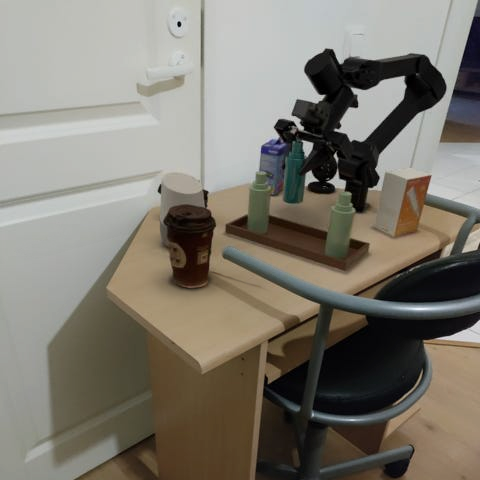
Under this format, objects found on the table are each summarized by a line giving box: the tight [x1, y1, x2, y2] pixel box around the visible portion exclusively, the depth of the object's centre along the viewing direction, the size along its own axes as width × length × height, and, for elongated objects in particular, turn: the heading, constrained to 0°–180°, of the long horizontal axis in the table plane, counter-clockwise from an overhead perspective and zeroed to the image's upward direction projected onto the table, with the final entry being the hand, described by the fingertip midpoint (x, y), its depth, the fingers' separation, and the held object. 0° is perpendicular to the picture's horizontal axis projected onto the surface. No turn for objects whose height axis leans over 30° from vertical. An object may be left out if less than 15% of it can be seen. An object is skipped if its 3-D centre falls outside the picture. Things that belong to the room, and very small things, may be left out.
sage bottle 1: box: [247, 170, 272, 234], centre depth 103 cm, size 5×5×12 cm
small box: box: [373, 167, 433, 237], centre depth 107 cm, size 8×6×13 cm
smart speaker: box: [159, 171, 205, 248], centre depth 95 cm, size 10×9×14 cm
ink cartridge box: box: [258, 136, 286, 196], centre depth 128 cm, size 10×6×14 cm, turn 158°
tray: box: [225, 213, 371, 272], centre depth 101 cm, size 11×28×2 cm, turn 54°
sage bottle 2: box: [324, 191, 356, 259], centre depth 94 cm, size 5×5×12 cm
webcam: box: [307, 156, 338, 194], centre depth 130 cm, size 8×8×10 cm
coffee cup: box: [163, 204, 217, 289], centre depth 83 cm, size 9×8×13 cm
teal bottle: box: [282, 140, 308, 205], centre depth 104 cm, size 5×5×12 cm
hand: (291, 171), depth 103 cm, fingers closed on teal bottle, 4 cm apart
